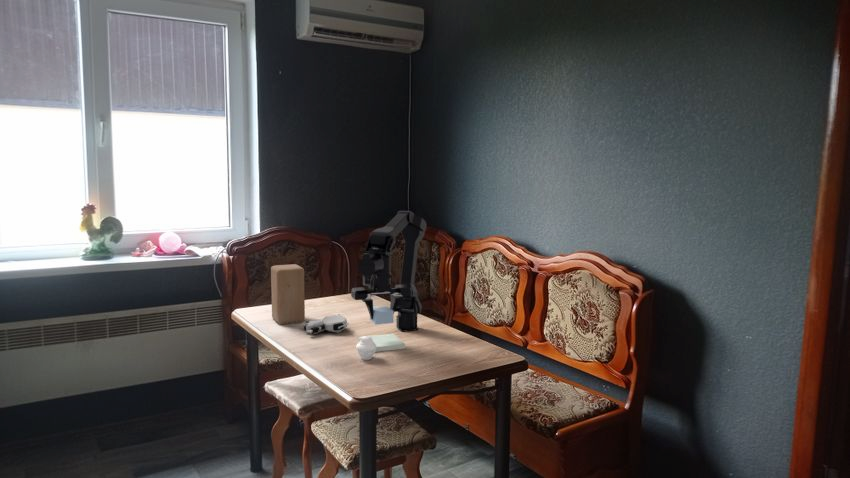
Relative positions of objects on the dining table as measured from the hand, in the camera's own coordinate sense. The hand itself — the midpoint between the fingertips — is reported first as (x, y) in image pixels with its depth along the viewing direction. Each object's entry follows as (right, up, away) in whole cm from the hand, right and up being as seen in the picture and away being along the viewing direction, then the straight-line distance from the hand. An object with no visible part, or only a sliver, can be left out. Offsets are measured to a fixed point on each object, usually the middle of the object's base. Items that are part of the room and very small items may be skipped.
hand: (381, 318), depth 201 cm
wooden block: (-36, -5, +29) cm, 47 cm away
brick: (0, -1, 0) cm, 1 cm away
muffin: (-4, -11, -12) cm, 16 cm away
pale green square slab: (0, -9, +1) cm, 9 cm away
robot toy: (-21, -7, +16) cm, 27 cm away
